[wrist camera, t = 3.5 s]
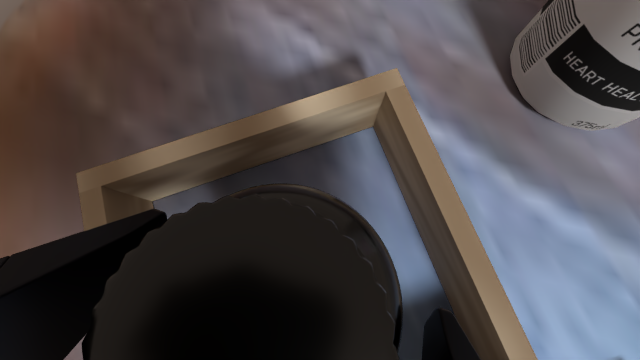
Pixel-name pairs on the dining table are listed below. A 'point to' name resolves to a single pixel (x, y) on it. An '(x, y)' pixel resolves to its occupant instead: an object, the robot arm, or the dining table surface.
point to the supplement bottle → (253, 285)
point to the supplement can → (581, 62)
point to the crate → (311, 130)
